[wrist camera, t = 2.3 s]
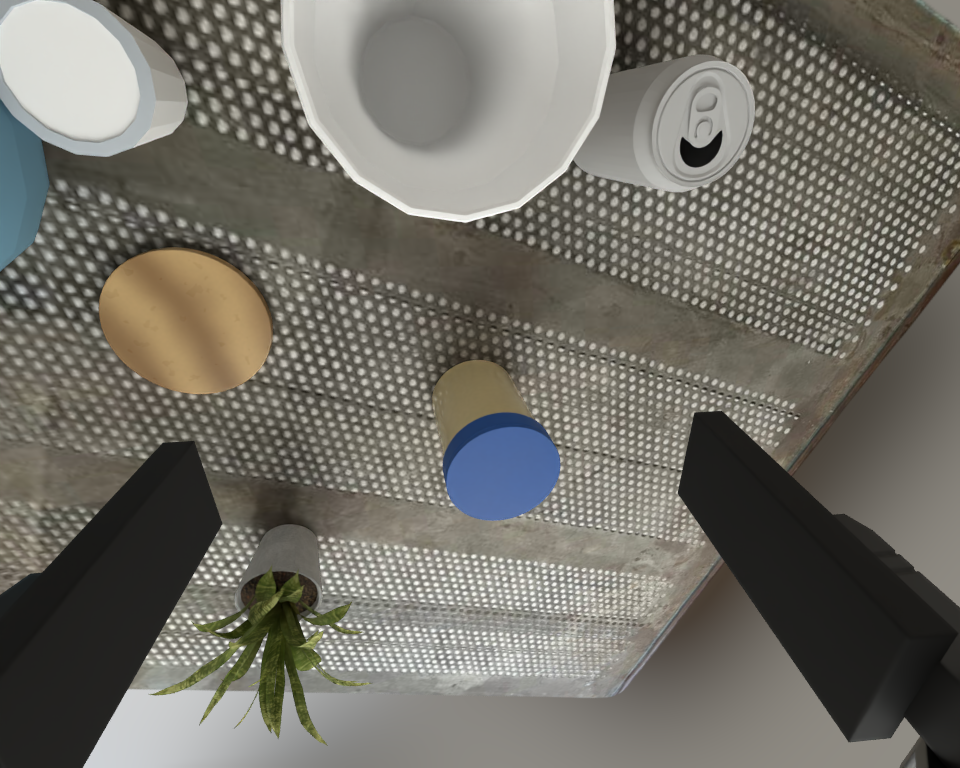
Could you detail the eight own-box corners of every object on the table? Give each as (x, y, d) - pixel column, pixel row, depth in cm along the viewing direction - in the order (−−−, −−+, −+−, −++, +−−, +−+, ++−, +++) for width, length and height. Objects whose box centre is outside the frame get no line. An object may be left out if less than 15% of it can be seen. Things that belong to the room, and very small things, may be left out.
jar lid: (472, 519, 37) (477, 538, 36) (420, 448, 33) (423, 464, 31) (566, 470, 37) (576, 486, 35) (526, 391, 33) (534, 405, 31)
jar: (456, 446, 45) (478, 528, 36) (416, 386, 41) (429, 460, 32) (527, 408, 45) (568, 481, 35) (494, 344, 41) (530, 407, 32)
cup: (339, 183, 33) (314, 232, 18) (306, -31, 27) (231, -224, 12) (500, 176, 35) (602, 214, 20) (499, -26, 29) (640, -188, 14)
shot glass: (58, -9, 26) (-37, -50, 20) (201, 40, 28) (155, 16, 22) (67, 130, 28) (-14, 132, 22) (197, 165, 30) (155, 175, 24)
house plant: (403, 551, 50) (417, 719, 36) (296, 616, 51) (269, 803, 37) (311, 466, 43) (283, 633, 29) (189, 544, 44) (104, 741, 30)
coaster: (184, 412, 38) (180, 417, 37) (64, 296, 32) (57, 299, 32) (303, 346, 37) (302, 351, 37) (202, 216, 32) (198, 219, 31)
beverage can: (564, 182, 36) (643, 205, 25) (559, 81, 32) (648, 60, 22) (643, 168, 36) (753, 185, 26) (647, 67, 33) (773, 41, 23)
